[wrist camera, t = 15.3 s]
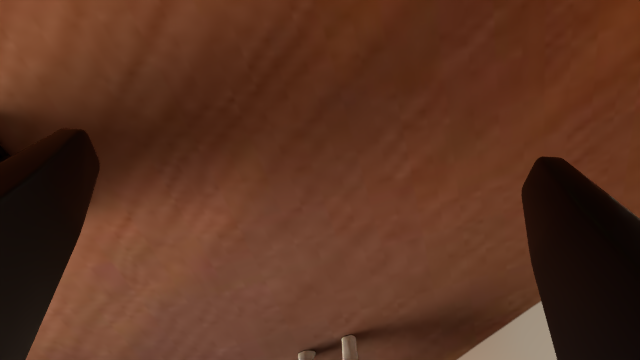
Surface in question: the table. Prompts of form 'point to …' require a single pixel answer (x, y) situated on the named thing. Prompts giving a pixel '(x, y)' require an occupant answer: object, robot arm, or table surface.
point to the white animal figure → (347, 350)
